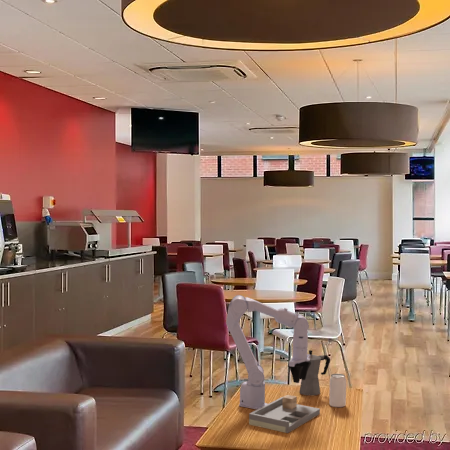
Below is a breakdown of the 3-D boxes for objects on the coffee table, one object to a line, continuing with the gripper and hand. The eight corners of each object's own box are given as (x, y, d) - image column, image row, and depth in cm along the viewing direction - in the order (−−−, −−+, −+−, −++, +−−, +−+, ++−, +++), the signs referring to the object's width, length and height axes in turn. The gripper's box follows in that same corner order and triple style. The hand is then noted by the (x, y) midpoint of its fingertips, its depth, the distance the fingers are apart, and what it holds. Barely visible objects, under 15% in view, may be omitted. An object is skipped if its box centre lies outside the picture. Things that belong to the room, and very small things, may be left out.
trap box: (248, 424, 270) (249, 413, 269) (282, 406, 291) (283, 396, 291) (287, 433, 261) (288, 422, 261) (319, 413, 283) (320, 403, 283)
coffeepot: (298, 396, 305) (299, 353, 304) (291, 390, 314) (292, 348, 313) (333, 394, 308) (334, 352, 307) (325, 388, 317) (326, 346, 316)
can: (345, 408, 290) (346, 378, 289) (328, 407, 291) (329, 377, 291) (346, 403, 296) (346, 373, 296) (329, 402, 298) (330, 372, 297)
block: (282, 407, 284) (282, 397, 283) (287, 404, 287) (287, 394, 287) (291, 409, 281) (291, 399, 281) (296, 406, 285) (296, 396, 284)
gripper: (300, 351, 281) (300, 386, 282) (317, 344, 293) (316, 378, 294) (284, 349, 285) (283, 383, 286) (301, 342, 297) (300, 375, 298)
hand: (299, 380), depth 290 cm, fingers open, 5 cm apart
